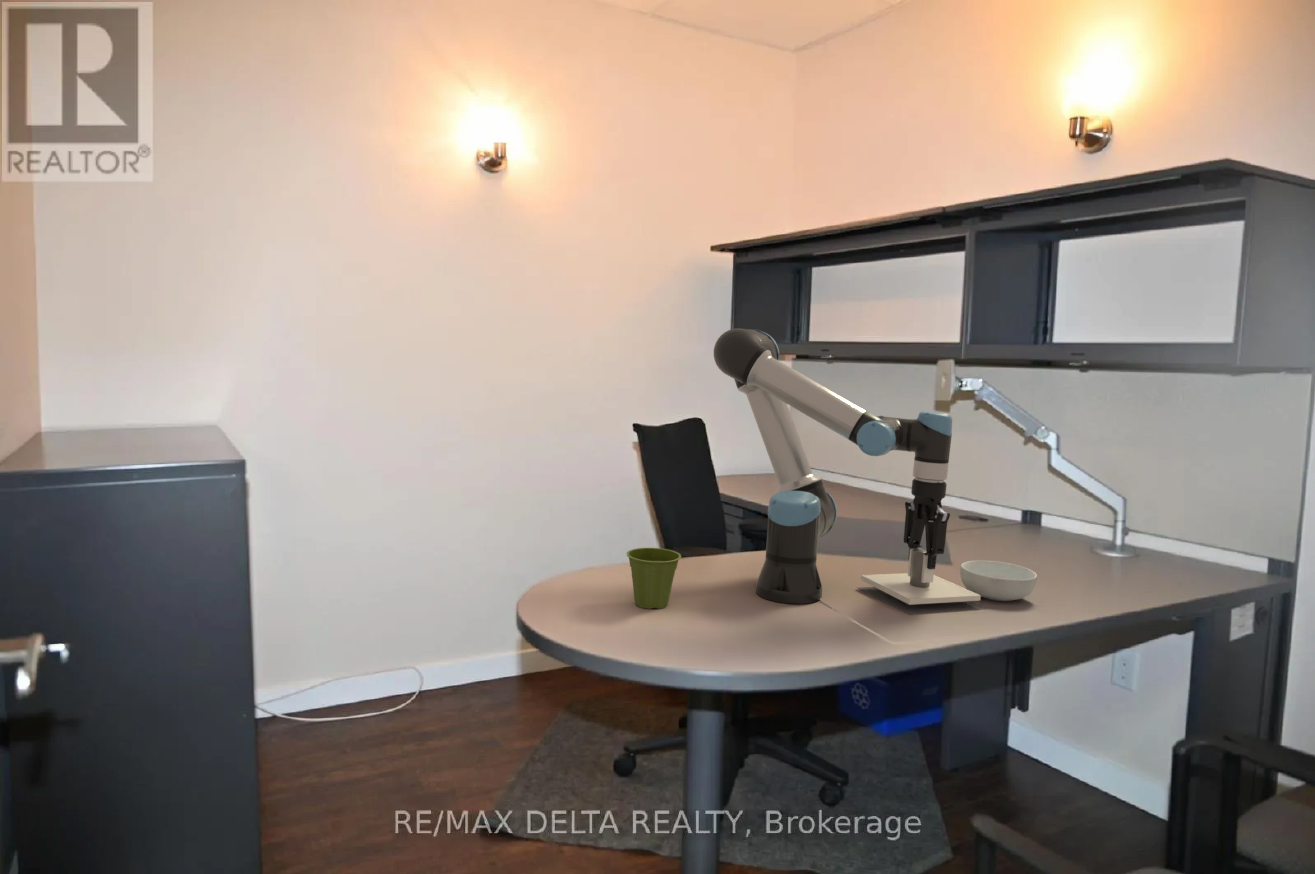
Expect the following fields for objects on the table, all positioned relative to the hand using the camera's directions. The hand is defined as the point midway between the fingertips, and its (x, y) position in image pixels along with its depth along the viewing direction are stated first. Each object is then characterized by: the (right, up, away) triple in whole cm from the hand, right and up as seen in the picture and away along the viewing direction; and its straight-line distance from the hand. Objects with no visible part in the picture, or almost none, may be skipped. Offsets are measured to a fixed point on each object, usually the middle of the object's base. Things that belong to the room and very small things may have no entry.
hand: (920, 578), depth 199 cm
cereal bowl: (+20, -6, +5) cm, 21 cm away
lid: (0, -3, 0) cm, 3 cm away
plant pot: (-62, -4, -12) cm, 64 cm away
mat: (0, -5, 0) cm, 5 cm away
